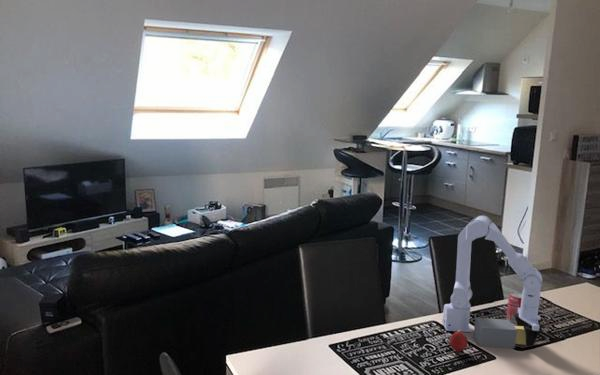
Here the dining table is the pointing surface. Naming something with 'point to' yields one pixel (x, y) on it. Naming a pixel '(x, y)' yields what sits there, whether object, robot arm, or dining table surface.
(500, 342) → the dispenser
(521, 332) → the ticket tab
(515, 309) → the beverage can
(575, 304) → the dining table surface
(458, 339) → the onion
